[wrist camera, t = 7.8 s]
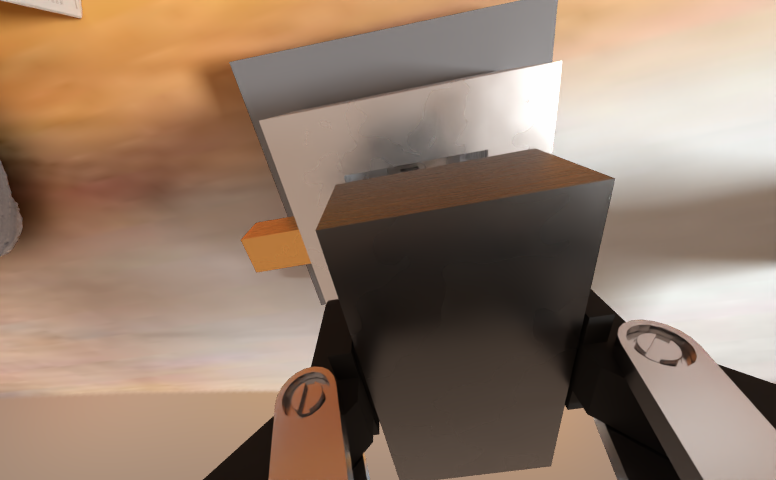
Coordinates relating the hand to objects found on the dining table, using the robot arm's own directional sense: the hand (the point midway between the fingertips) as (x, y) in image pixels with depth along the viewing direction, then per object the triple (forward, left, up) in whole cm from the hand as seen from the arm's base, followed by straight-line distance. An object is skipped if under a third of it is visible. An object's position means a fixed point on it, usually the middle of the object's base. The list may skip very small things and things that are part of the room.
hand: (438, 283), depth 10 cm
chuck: (+1, 0, -10) cm, 11 cm away
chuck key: (0, 0, -8) cm, 8 cm away
